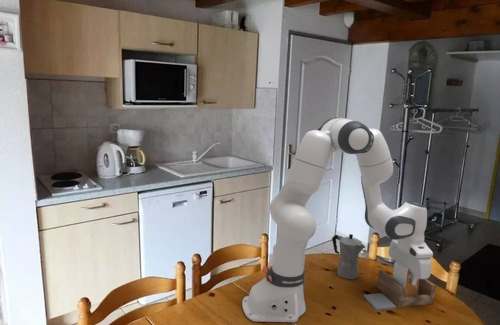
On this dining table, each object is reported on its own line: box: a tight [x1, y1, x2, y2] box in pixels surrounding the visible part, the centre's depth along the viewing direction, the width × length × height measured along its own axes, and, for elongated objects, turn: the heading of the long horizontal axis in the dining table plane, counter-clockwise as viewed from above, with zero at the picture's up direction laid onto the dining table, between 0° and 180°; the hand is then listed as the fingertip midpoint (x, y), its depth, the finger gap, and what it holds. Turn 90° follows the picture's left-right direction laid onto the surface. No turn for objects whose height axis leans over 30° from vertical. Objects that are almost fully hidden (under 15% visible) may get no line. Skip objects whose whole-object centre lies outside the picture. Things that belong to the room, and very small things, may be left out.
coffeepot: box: [331, 233, 366, 280], centre depth 153 cm, size 15×9×18 cm, turn 44°
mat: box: [362, 292, 398, 311], centre depth 133 cm, size 8×9×1 cm
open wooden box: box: [376, 269, 437, 308], centre depth 138 cm, size 15×14×8 cm
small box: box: [391, 261, 420, 297], centre depth 138 cm, size 8×6×13 cm
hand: (405, 278), depth 138 cm, fingers closed on small box, 7 cm apart
